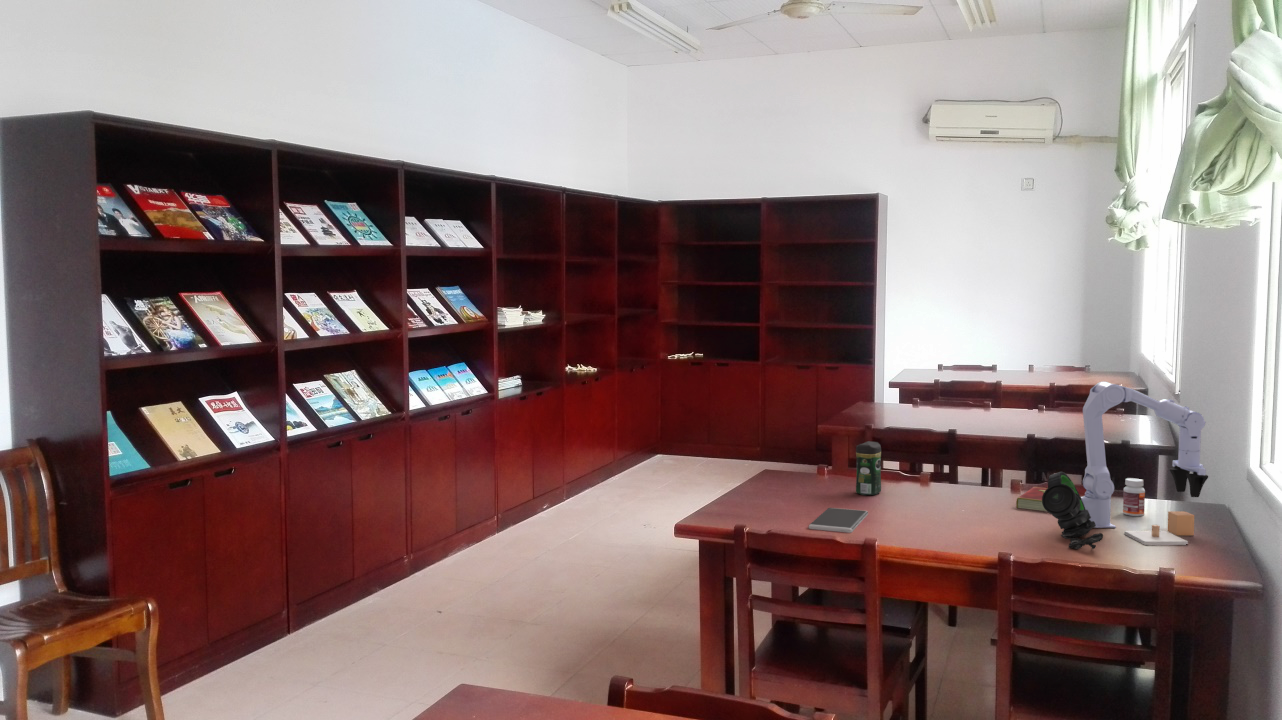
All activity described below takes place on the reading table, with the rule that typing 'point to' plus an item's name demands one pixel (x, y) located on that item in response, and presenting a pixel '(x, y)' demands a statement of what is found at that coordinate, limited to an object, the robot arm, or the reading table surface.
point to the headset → (1069, 511)
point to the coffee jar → (868, 468)
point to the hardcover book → (1031, 499)
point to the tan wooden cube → (1180, 523)
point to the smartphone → (838, 520)
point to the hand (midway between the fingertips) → (1187, 494)
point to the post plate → (1155, 537)
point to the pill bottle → (1133, 497)
